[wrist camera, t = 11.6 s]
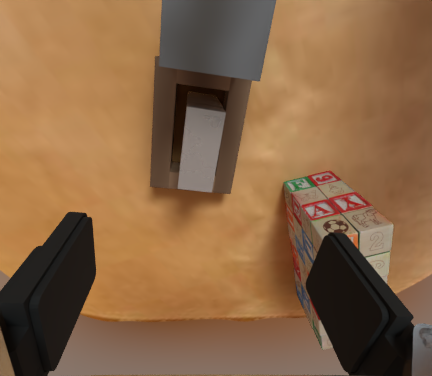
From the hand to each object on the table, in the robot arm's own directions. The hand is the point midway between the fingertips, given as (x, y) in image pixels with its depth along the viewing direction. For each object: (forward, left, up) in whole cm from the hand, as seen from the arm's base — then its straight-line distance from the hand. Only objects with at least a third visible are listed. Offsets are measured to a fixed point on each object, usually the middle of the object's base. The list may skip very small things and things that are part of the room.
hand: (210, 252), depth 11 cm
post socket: (0, -3, -21) cm, 22 cm away
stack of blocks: (-18, +15, -22) cm, 32 cm away
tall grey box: (0, 0, -21) cm, 21 cm away
